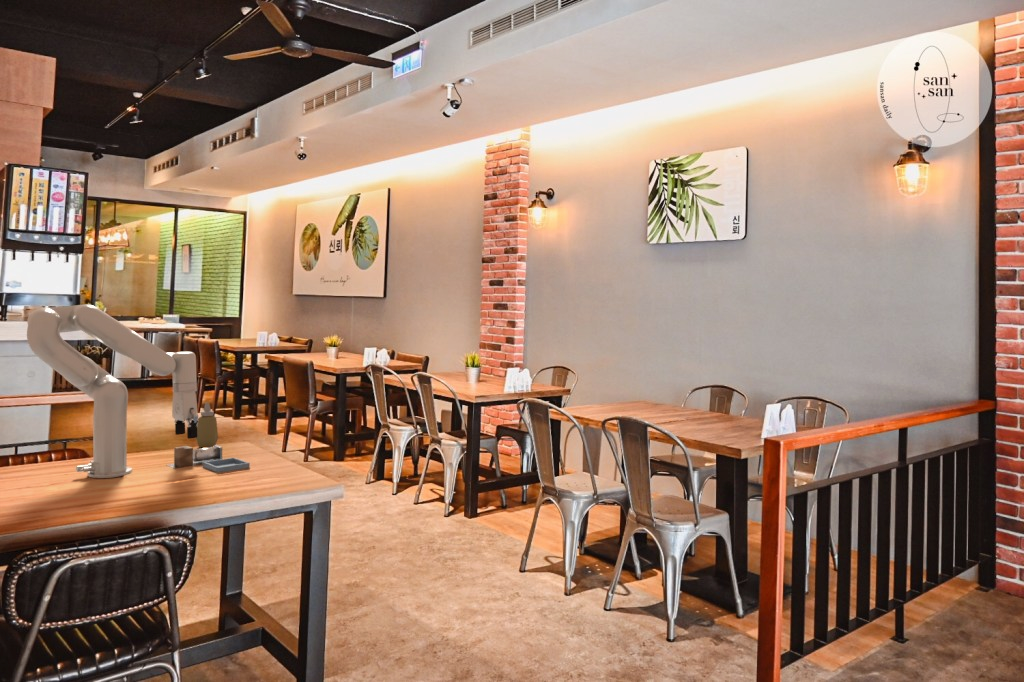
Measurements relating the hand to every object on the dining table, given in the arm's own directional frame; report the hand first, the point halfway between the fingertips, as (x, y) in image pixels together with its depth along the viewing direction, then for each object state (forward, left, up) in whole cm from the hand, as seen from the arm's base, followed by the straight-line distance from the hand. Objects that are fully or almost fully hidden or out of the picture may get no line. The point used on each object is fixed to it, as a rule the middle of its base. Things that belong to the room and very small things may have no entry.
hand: (186, 436), depth 241 cm
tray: (+8, -13, -11) cm, 19 cm away
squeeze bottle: (+19, +26, -11) cm, 34 cm away
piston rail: (+4, 0, -11) cm, 11 cm away
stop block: (-1, 0, -10) cm, 10 cm away
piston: (+7, 0, -11) cm, 13 cm away
